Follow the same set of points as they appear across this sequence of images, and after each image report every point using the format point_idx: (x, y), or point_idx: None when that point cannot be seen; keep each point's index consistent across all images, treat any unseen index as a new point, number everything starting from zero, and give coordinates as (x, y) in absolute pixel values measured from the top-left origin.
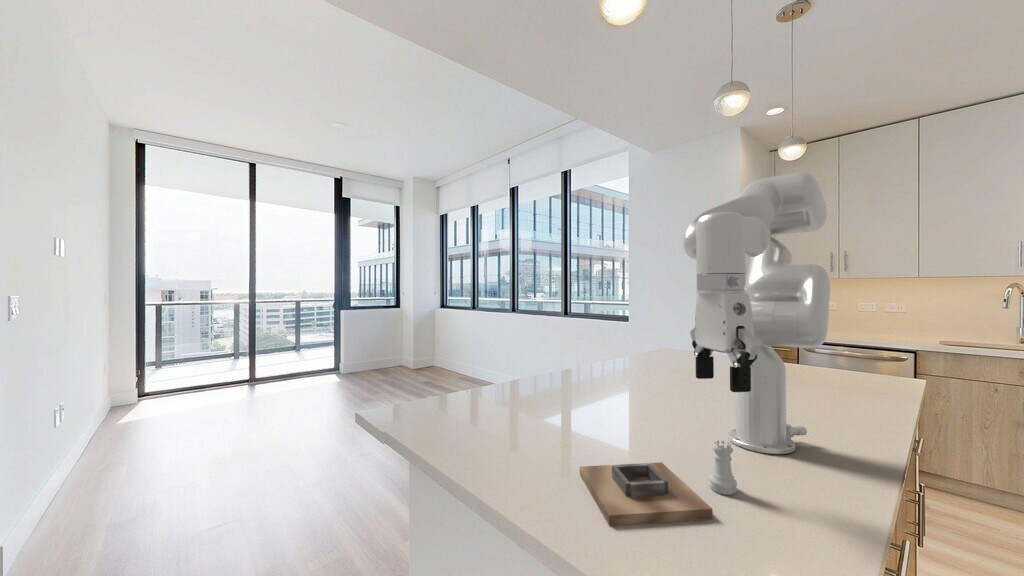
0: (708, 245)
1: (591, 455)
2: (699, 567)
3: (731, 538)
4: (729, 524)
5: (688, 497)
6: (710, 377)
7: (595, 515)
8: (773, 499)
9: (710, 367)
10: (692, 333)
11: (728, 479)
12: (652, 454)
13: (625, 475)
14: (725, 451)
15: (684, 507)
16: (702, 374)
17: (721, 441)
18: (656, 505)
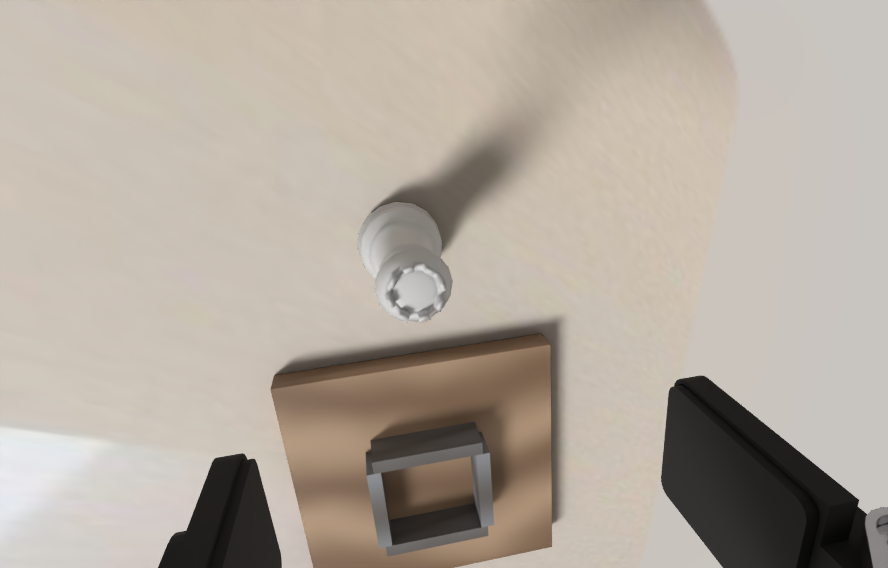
0: None
1: None
2: None
3: (611, 324)
4: (565, 305)
5: (495, 381)
6: (257, 480)
7: None
8: (460, 114)
9: (239, 556)
10: None
11: (435, 251)
12: (133, 371)
13: (387, 506)
14: (448, 291)
15: (538, 403)
16: (271, 562)
17: (393, 287)
18: (524, 458)
